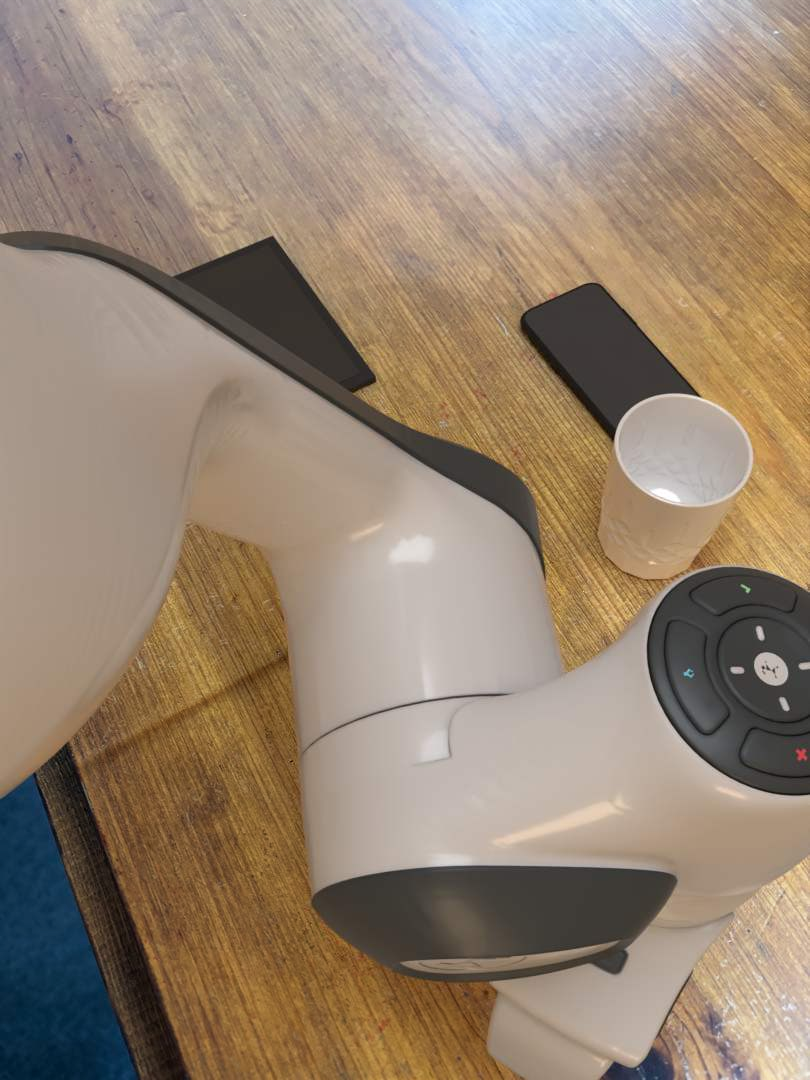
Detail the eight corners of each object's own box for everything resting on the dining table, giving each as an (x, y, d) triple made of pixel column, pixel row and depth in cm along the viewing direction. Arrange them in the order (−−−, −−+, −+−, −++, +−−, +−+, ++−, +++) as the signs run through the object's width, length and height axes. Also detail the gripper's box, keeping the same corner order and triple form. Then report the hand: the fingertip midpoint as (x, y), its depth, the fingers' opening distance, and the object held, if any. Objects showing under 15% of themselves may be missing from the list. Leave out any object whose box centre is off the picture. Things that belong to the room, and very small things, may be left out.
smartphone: (638, 463, 71) (514, 314, 77) (635, 471, 72) (512, 322, 78) (724, 418, 73) (596, 276, 79) (720, 426, 74) (594, 284, 80)
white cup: (562, 529, 70) (586, 440, 61) (646, 464, 72) (680, 371, 63) (650, 612, 67) (688, 531, 58) (734, 542, 69) (782, 455, 60)
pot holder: (170, 477, 71) (168, 471, 71) (80, 320, 78) (77, 314, 78) (376, 381, 76) (376, 375, 75) (273, 240, 82) (272, 234, 82)
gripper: (676, 589, 48) (621, 701, 60) (467, 1016, 39) (451, 1047, 51) (809, 652, 47) (725, 754, 59) (624, 1111, 38) (569, 1120, 50)
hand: (596, 894), depth 55 cm, fingers closed on salt shaker, 5 cm apart
